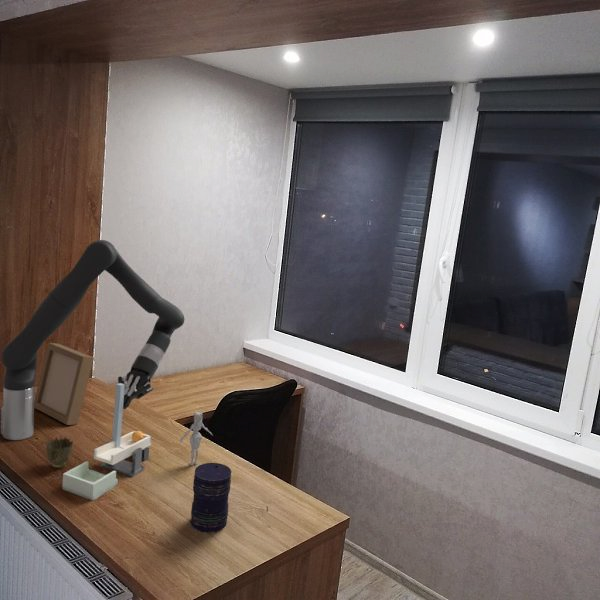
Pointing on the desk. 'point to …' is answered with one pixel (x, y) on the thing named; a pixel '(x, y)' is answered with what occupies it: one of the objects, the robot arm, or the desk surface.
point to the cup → (59, 452)
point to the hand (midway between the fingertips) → (121, 407)
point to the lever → (119, 436)
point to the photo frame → (63, 383)
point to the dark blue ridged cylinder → (210, 497)
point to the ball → (137, 436)
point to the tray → (88, 481)
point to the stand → (129, 467)
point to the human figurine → (195, 436)
